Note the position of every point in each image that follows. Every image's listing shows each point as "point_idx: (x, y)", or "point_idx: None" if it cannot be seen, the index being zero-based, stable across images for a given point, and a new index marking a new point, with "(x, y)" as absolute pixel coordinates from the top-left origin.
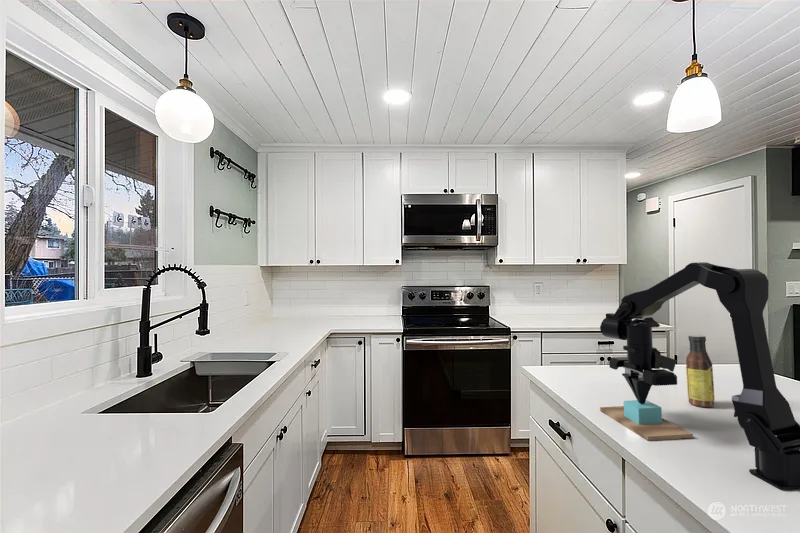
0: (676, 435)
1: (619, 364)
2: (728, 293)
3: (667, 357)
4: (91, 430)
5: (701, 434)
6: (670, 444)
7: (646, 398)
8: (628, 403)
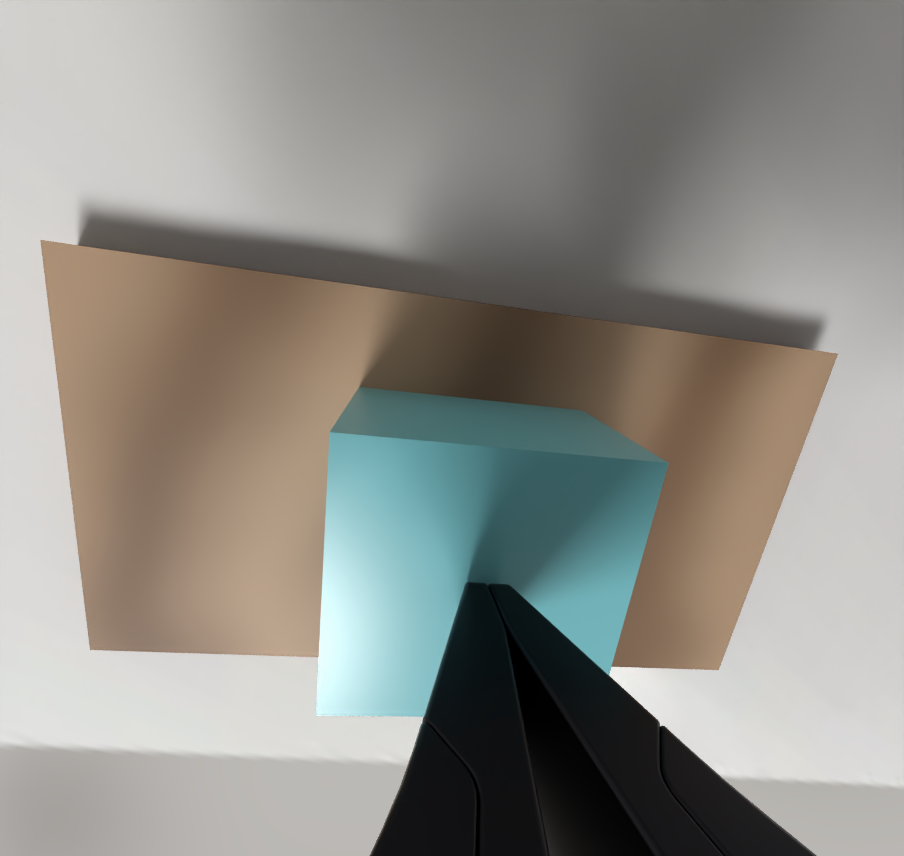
0: (783, 483)
1: None
2: None
3: None
4: None
5: (791, 209)
6: (789, 563)
7: (555, 627)
8: (415, 713)
